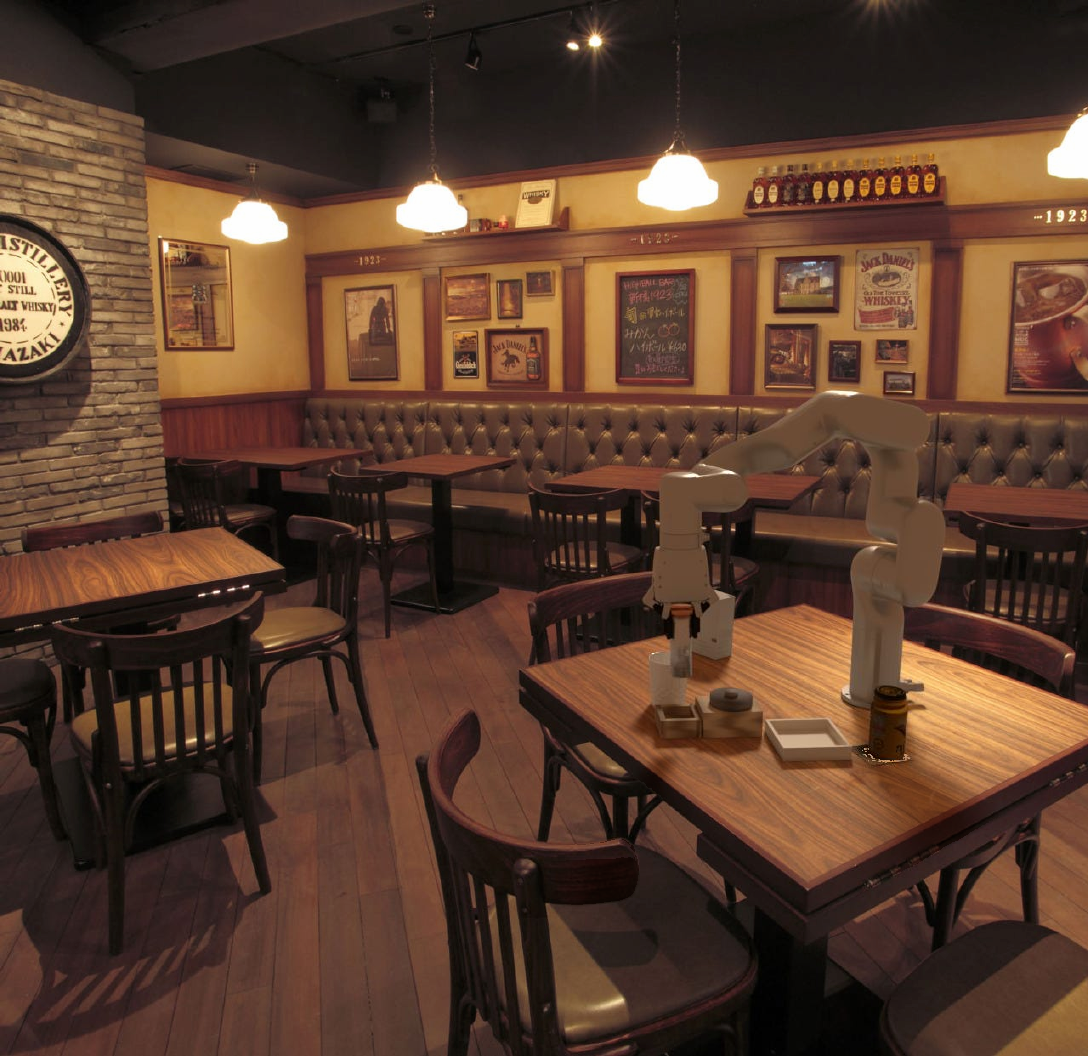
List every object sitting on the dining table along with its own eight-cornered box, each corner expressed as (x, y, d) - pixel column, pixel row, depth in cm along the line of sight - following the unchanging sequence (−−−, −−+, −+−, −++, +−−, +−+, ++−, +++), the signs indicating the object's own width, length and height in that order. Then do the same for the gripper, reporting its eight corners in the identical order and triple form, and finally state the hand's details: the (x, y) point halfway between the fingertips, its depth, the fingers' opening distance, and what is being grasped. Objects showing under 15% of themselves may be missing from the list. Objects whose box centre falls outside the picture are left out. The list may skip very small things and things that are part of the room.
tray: (828, 730, 163) (828, 717, 163) (851, 759, 151) (852, 746, 151) (764, 731, 163) (765, 719, 162) (782, 761, 151) (783, 748, 151)
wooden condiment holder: (751, 718, 169) (752, 682, 167) (762, 736, 161) (763, 699, 160) (654, 721, 169) (655, 685, 167) (661, 739, 161) (661, 701, 159)
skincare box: (690, 651, 207) (691, 591, 204) (707, 646, 210) (708, 587, 207) (716, 661, 200) (718, 599, 197) (734, 655, 204) (735, 594, 201)
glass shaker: (691, 669, 165) (691, 603, 162) (696, 678, 160) (696, 610, 158) (666, 669, 165) (666, 604, 162) (670, 679, 160) (669, 611, 158)
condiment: (915, 760, 151) (920, 695, 148) (871, 766, 149) (875, 700, 147) (889, 742, 158) (894, 680, 155) (848, 748, 156) (851, 685, 154)
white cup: (686, 713, 172) (687, 665, 170) (646, 711, 173) (647, 663, 171) (688, 698, 179) (689, 652, 177) (650, 695, 181) (650, 650, 179)
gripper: (722, 534, 161) (721, 628, 165) (632, 538, 161) (633, 632, 165) (731, 543, 154) (730, 641, 158) (637, 547, 154) (638, 645, 157)
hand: (681, 635), depth 161 cm, fingers closed on glass shaker, 4 cm apart
